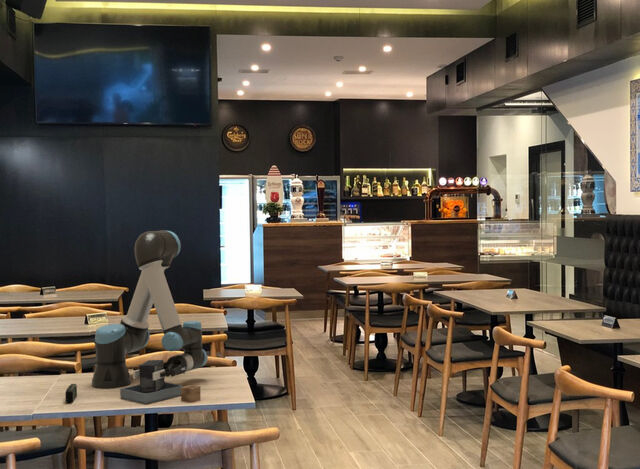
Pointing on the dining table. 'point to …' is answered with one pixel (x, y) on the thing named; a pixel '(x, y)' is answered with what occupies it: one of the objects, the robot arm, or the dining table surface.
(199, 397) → the walnut cube
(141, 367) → the small box
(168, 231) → the robot arm
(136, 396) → the tray
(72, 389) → the mobile phone
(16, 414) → the dining table surface
